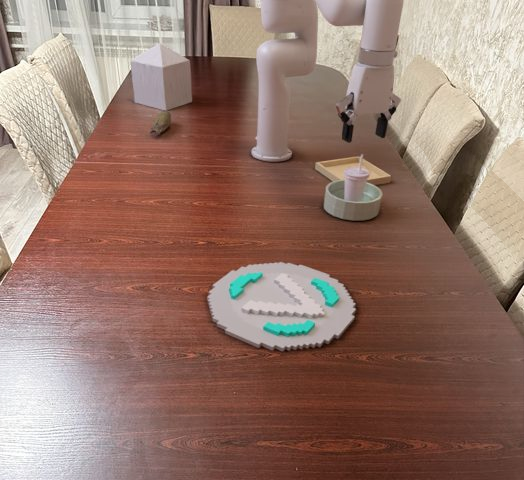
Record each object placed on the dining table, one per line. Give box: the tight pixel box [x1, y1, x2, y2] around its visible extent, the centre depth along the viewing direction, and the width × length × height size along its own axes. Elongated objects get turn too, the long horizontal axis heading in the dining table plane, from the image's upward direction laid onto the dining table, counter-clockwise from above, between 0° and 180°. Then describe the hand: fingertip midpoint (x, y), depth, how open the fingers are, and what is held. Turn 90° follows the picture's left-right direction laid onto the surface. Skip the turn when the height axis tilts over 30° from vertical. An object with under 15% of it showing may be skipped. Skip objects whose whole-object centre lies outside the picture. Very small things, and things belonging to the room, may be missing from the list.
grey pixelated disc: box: [206, 261, 357, 352], centre depth 101 cm, size 28×28×2 cm
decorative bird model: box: [148, 110, 172, 136], centre depth 175 cm, size 5×20×5 cm, turn 174°
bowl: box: [323, 180, 384, 221], centre depth 135 cm, size 14×15×5 cm
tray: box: [314, 155, 392, 186], centre depth 153 cm, size 17×16×2 cm
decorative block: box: [130, 43, 193, 111], centre depth 196 cm, size 16×16×20 cm
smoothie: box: [344, 153, 370, 202], centre depth 132 cm, size 6×6×14 cm
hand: (363, 138), depth 124 cm, fingers open, 9 cm apart
